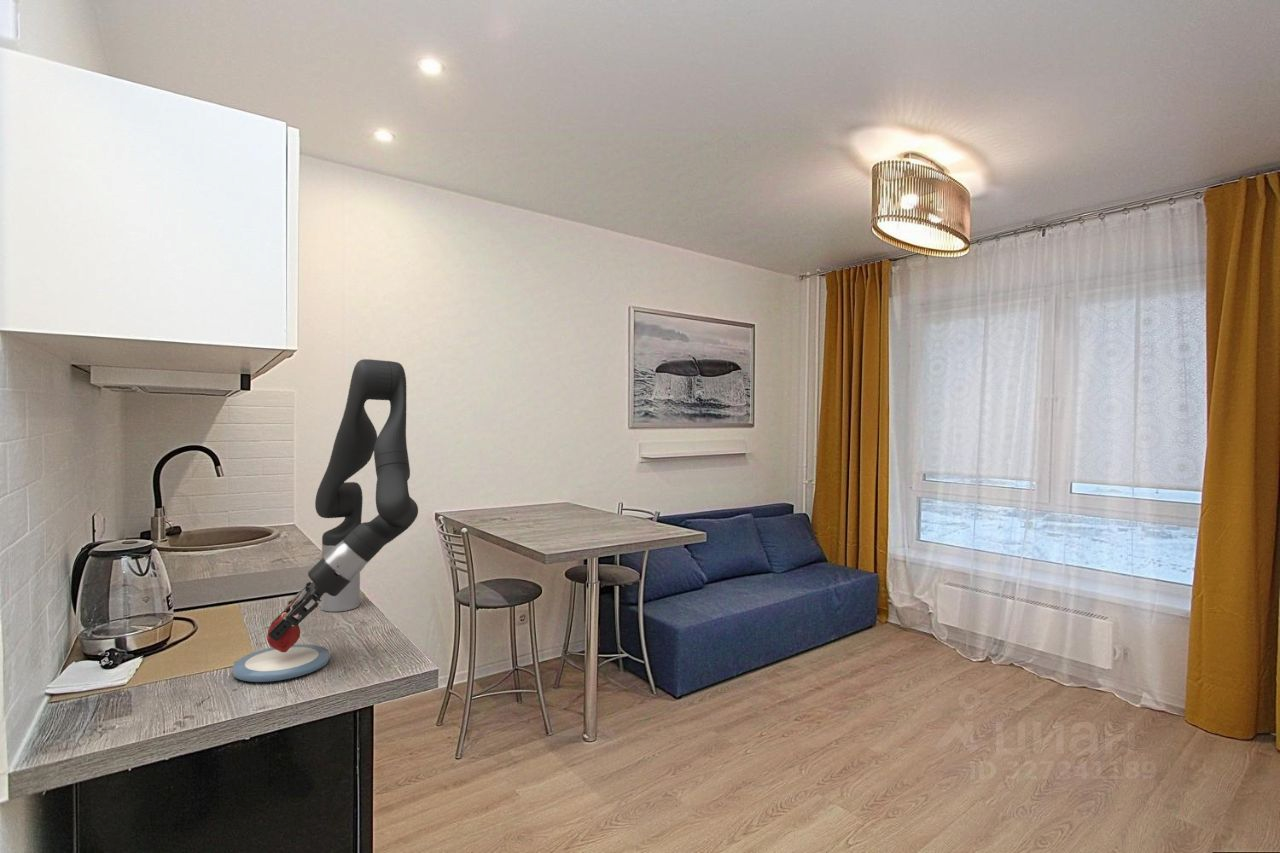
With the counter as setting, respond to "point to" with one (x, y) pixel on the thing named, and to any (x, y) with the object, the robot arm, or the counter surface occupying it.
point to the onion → (284, 637)
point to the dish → (280, 663)
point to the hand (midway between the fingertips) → (273, 632)
